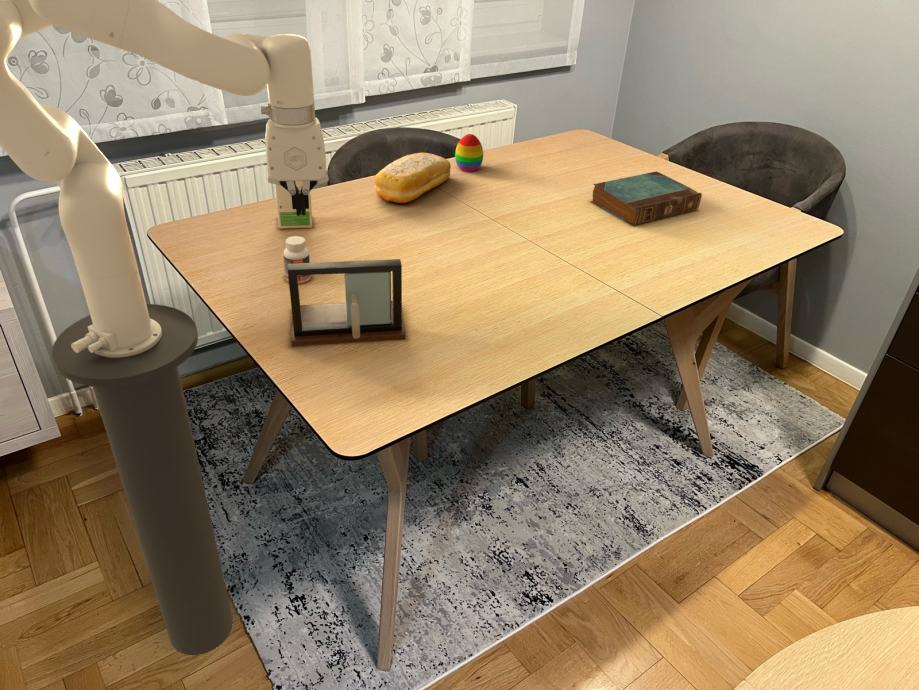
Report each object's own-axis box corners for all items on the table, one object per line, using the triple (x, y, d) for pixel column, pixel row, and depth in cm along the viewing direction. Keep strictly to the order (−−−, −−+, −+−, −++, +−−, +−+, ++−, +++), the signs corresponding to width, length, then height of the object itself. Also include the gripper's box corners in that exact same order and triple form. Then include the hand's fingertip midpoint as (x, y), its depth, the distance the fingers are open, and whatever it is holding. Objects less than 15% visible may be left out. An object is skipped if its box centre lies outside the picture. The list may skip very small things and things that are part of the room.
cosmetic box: (278, 229, 174) (271, 166, 165) (278, 217, 179) (272, 156, 171) (314, 227, 176) (309, 165, 167) (313, 216, 181) (308, 155, 172)
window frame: (405, 339, 138) (405, 268, 129) (292, 346, 134) (284, 273, 126) (398, 305, 148) (398, 237, 139) (292, 310, 145) (286, 241, 136)
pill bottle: (293, 286, 152) (290, 248, 147) (281, 276, 155) (277, 239, 150) (315, 279, 155) (312, 241, 150) (302, 269, 158) (299, 232, 153)
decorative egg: (461, 161, 217) (462, 128, 212) (486, 166, 215) (488, 132, 209) (450, 170, 211) (451, 136, 205) (476, 175, 208) (478, 141, 203)
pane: (393, 341, 132) (392, 289, 126) (348, 344, 131) (346, 291, 125) (389, 321, 138) (389, 270, 132) (347, 323, 137) (344, 272, 130)
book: (633, 226, 184) (637, 208, 181) (589, 201, 196) (592, 183, 194) (698, 211, 194) (702, 193, 191) (652, 187, 206) (655, 170, 204)
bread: (365, 200, 191) (364, 171, 186) (414, 168, 210) (414, 141, 206) (409, 211, 186) (410, 181, 181) (456, 178, 206) (457, 150, 201)
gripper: (245, 120, 121) (258, 221, 131) (336, 120, 123) (342, 220, 133) (249, 106, 127) (261, 204, 137) (336, 106, 129) (342, 203, 139)
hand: (301, 212), depth 135 cm, fingers closed
